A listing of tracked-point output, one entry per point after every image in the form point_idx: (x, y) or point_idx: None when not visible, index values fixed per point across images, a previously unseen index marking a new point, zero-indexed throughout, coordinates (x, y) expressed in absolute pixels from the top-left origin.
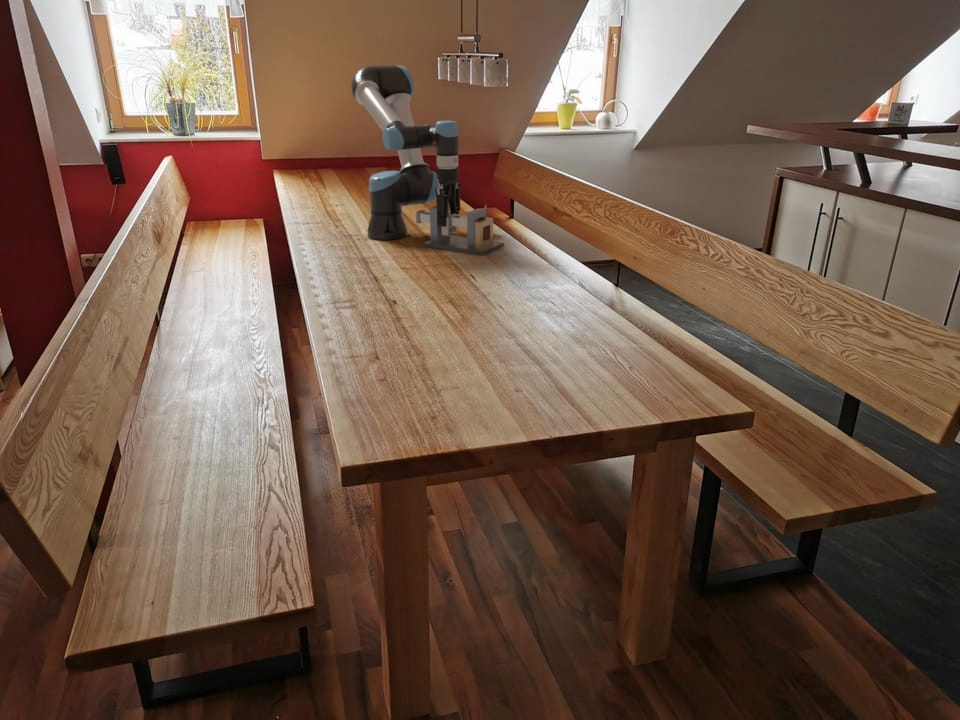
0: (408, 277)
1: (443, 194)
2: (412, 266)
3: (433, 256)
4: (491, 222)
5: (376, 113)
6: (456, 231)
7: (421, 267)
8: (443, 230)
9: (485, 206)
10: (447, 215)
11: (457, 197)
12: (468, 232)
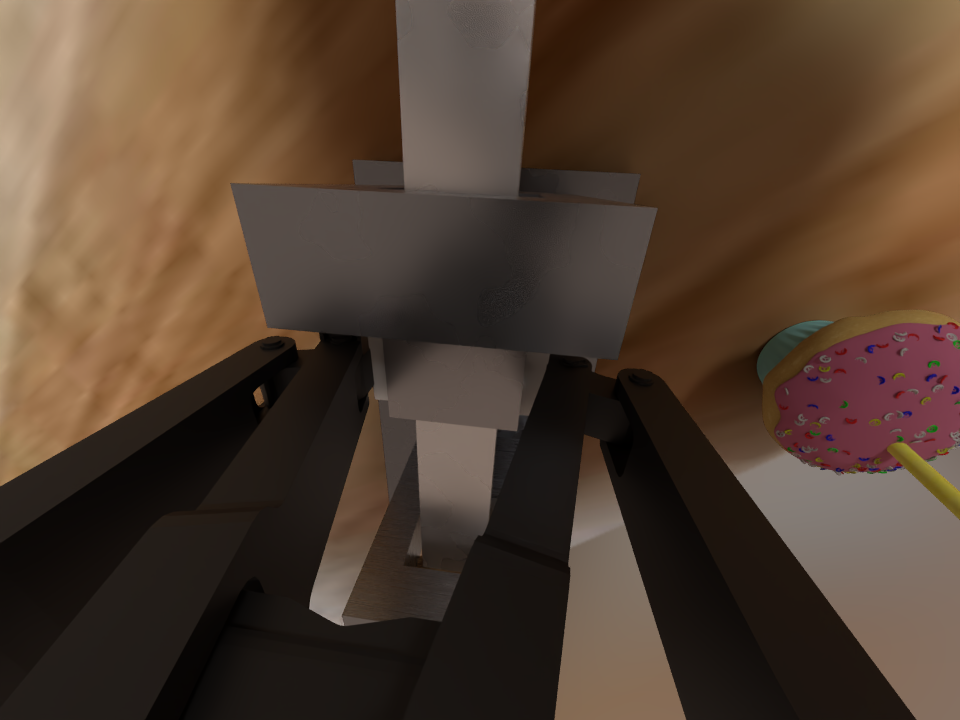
0: (4, 373)
1: (1, 705)
2: (84, 316)
3: (255, 322)
4: None
5: None
6: None
7: (109, 356)
8: None
9: None
10: (388, 397)
11: (654, 591)
12: (399, 487)
